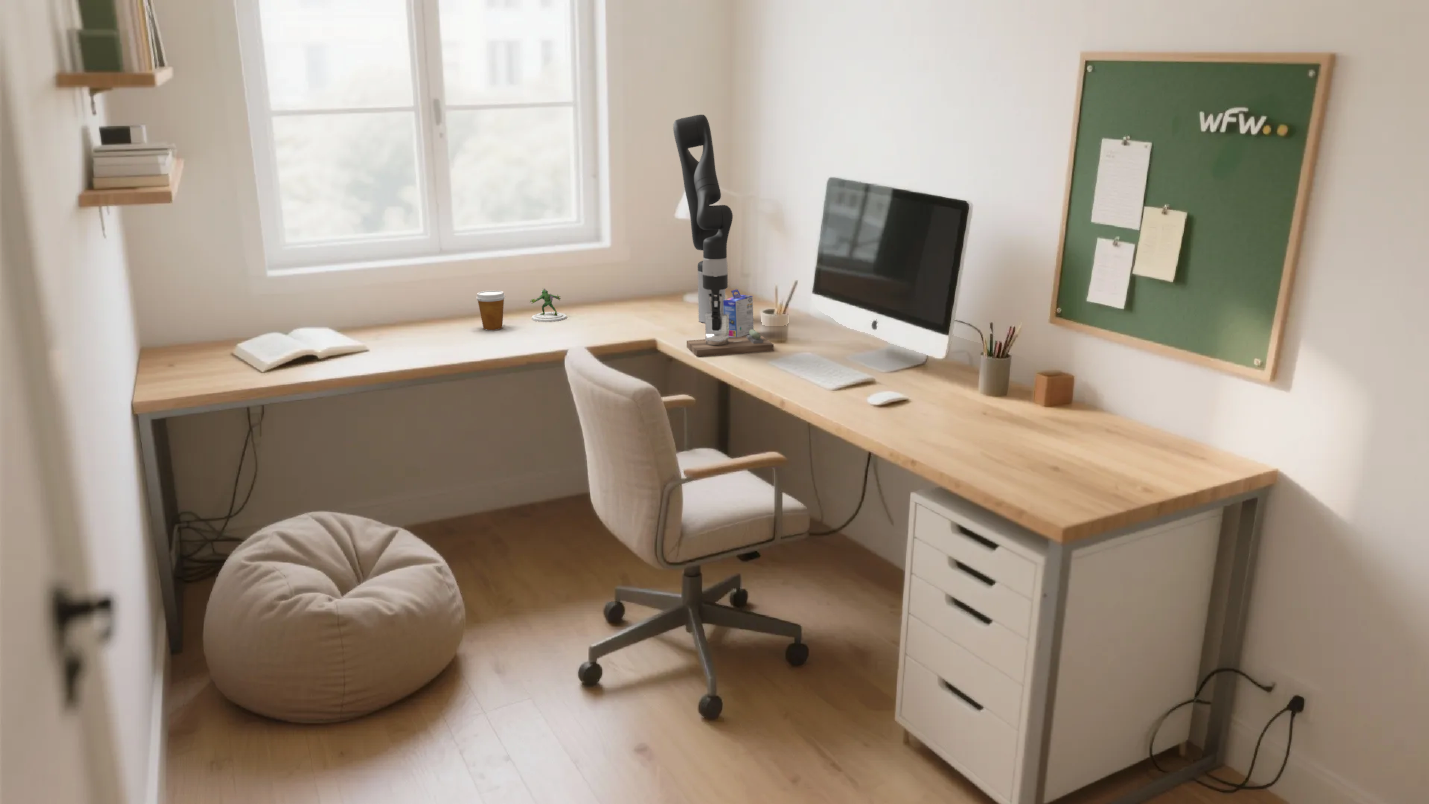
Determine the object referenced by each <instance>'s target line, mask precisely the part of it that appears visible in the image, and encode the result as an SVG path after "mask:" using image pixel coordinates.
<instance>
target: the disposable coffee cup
mask: <svg viewBox="0 0 1429 804" xmlns="http://www.w3.org/2000/svg"><path fill="white" fill-rule="evenodd" d="M505 297H506V295H505V293H504V291H502V290H484V291H482V290H481V291H479V292H477V293H476V297H475V298H476V301H477V304H478V309H479V315H480V318H481V323H482V327H483V330H485V329H487V330H488V331H495V329H497V330H501V329H502V328H503V323H504V321H503V320H504V306H505V305H504V304H505ZM487 330H486V331H487Z"/></svg>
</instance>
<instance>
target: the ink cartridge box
mask: <svg viewBox="0 0 1429 804" xmlns="http://www.w3.org/2000/svg"><path fill="white" fill-rule="evenodd" d="M730 292H731V295H732V296H731V297H729V298H725V300H723V306H724V314H727V315H729V334H728V338H730V337H744V336H747V335H750V334H749V331H750V330H751V329H754V328H755V327H754V326H755V325H754V296H753V295H746V294H741V293H740V291H739V289H737V288H736V289H733V290H731V291H730ZM735 293H736V294H735ZM754 330H755V329H754Z"/></svg>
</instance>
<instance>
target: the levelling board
mask: <svg viewBox="0 0 1429 804" xmlns="http://www.w3.org/2000/svg"><path fill="white" fill-rule="evenodd" d="M686 348H687V349H688V350H689V351H690V352H691V353H692V354H693V356H696V358H697V357H698V358H699V357H708V356H709V357H711V356H724V355H735V354H736V355H737V354H750V353H751V354H752V353H762V352H763V353H764V352H773V351H774V348H775V347H774V344H773V343H772V342H771V341H770V340H768V339H767V338H765V337H764V336H763V335H762V334H760V333H759V332H758V331H756V330H755V329H751V330H750V331H749V334H747V335H744V336H741V337H728V344H727V345H722V346H711V345H707V344H706V341H705V339H704V338H703V339H693V340H691V339H690V340H686Z"/></svg>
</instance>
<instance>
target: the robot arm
mask: <svg viewBox="0 0 1429 804" xmlns="http://www.w3.org/2000/svg"><path fill="white" fill-rule="evenodd" d="M672 127H673V128H672V129H673V130H672V131H673V135H674V141H675V144H676V148H677V152H678V157H679V160H680V161H679V162H680V166H681V172H682V179H683V187H684V190H685V196H686V200H687V201H686V202H687V206H688V210H689V218H690V228H691V239H692V244H693V246H694V248H695V250H698V251H702V253H703V254H702V258H703V259H702V260H701V261H699V262H698V263H697V295H698V296H697V298H698V299H697V301H698V303H697V305H698V306H697V307H698V313H697V314H698V321H699V322H700V323H704V324H705V314H706V313H712V315H711V317H712V330H713V331H718V330H719V318H720V314H724V306H723V300H725V299H726V289H727V288H728V286H729V285H728V283H729V281H728V280H729V279H728V272H729V271H728V270H729V269H728V259H727V257H728V255H727V253H728V252H727V248H728V246H727V245H728V240H729V234H730V230H731V227H732V223H733V216H734V215H733V211H732V209H731V208H730V207H729V205H726V204H717V205H715V204H716V203H718V202H719V201H720V200H721V199H722V193H721V188H720V183H719V179H718V176H717V170H716V163H715V152H714V145H713V139H712V132H711V131H712V130H711V127H710V123H709V119H708V117H707V116H706V115H705V114H696V115H695V114H694V115H691V116H686V117H681V118H678V119H676V120H675V121H674V122H673V124H672ZM696 147H702V153H701V157H700V159H699V160H697V159H696V158H695V157H694V156H693V154H692V153H691V151H690V150H689V149H692V148H696ZM713 313H714V314H713Z"/></svg>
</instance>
